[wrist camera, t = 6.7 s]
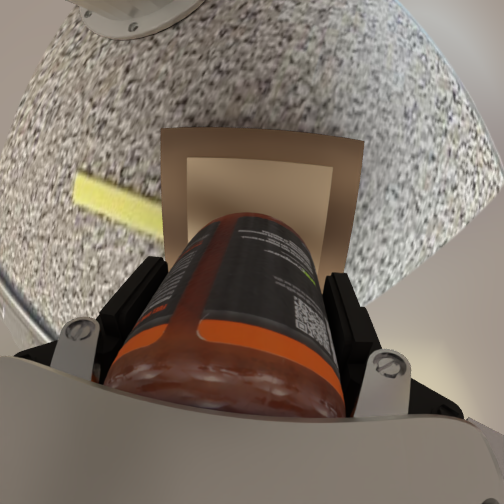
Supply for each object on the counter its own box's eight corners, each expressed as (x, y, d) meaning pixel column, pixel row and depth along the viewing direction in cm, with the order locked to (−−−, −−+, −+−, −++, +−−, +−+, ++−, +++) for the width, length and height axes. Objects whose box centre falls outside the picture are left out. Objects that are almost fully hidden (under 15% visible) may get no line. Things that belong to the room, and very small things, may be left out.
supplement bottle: (180, 305, 14) (86, 513, 4) (197, 193, 12) (-16, 427, 2) (292, 332, 15) (291, 558, 4) (332, 228, 12) (437, 517, 2)
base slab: (181, 127, 19) (158, 128, 15) (348, 138, 18) (366, 141, 15) (184, 273, 24) (168, 301, 20) (326, 285, 23) (334, 316, 20)
